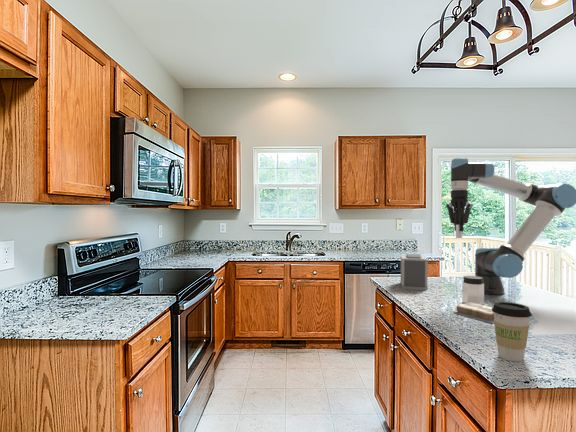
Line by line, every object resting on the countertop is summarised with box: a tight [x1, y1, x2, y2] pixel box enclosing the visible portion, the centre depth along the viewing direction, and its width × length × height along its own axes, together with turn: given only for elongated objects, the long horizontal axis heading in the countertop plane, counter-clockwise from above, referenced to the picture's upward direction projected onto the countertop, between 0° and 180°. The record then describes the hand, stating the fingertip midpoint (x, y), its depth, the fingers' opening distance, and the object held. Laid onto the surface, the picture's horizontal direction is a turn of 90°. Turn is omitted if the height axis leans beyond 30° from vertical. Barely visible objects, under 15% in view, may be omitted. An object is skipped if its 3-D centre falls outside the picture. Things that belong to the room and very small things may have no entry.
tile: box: [456, 302, 494, 320], centre depth 146 cm, size 10×2×14 cm
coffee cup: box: [492, 301, 533, 363], centre depth 103 cm, size 10×10×15 cm
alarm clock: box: [400, 253, 429, 291], centre depth 201 cm, size 18×13×18 cm
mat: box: [453, 311, 494, 325], centre depth 144 cm, size 16×16×1 cm
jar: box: [461, 275, 485, 305], centre depth 164 cm, size 9×8×12 cm
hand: (458, 237), depth 174 cm, fingers closed
